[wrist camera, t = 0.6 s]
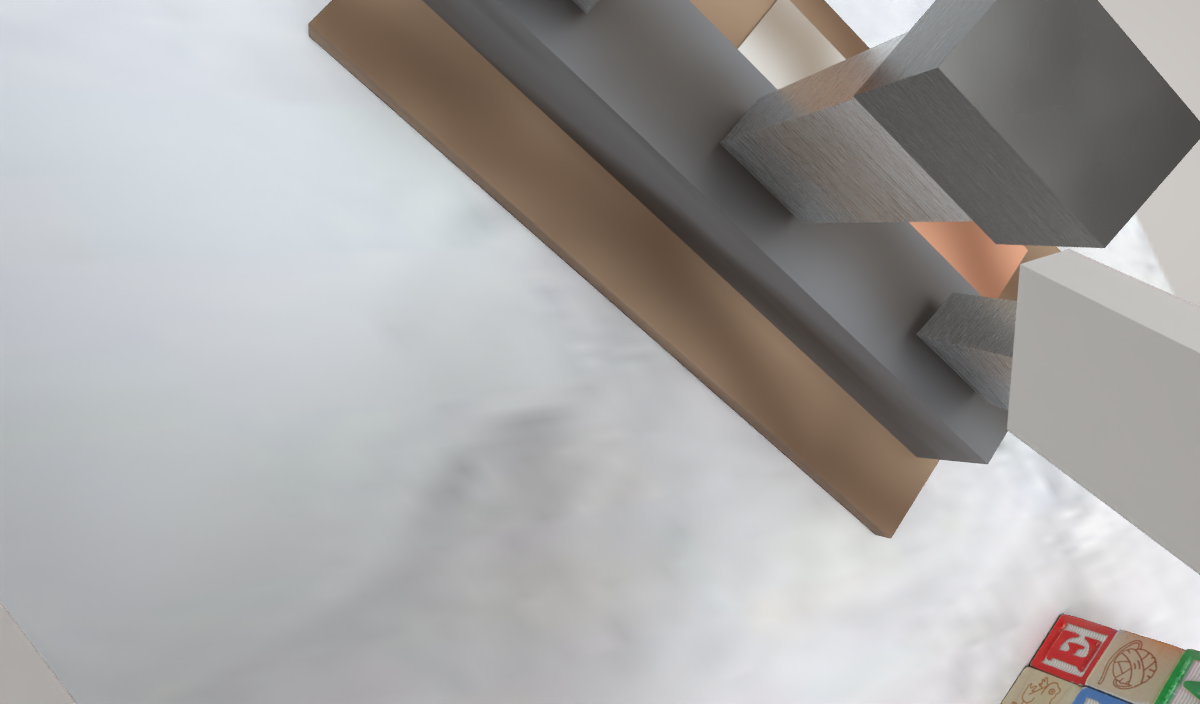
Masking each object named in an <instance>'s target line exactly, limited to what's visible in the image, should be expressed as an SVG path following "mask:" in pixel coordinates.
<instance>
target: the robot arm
mask: <svg viewBox="0 0 1200 704" xmlns="http://www.w3.org/2000/svg"><path fill="white" fill-rule="evenodd" d="M1007 430H1008V431H1009V432H1010V433H1012V434H1013V435H1014V436H1016V437H1017V438H1018V439H1020V440H1021V441H1022V442H1024V443H1025V444H1026V445H1028V446H1029V447H1030V448H1032V449H1033V450H1034V451H1036V452H1037V453H1038V454H1040V455H1041V456H1042V457H1044V458H1045V459H1046V460H1048V461H1049V462H1050V463H1052V464H1053V465H1054V466H1056V467H1057V468H1058V469H1060V470H1061V471H1062V472H1064V473H1065V474H1066V475H1068V476H1069V477H1070V478H1072V479H1073V480H1074V481H1076V482H1077V483H1078V484H1080V485H1081V486H1082V487H1084V488H1085V489H1086V490H1088V491H1089V492H1090V493H1092V494H1093V495H1094V496H1096V497H1097V498H1098V499H1100V500H1101V501H1102V502H1104V503H1105V504H1106V505H1108V506H1109V507H1110V508H1112V509H1113V510H1114V511H1116V512H1117V513H1118V514H1120V515H1121V516H1122V517H1123V518H1125V519H1126V520H1127V521H1129V522H1130V523H1131V524H1133V525H1134V526H1135V527H1137V528H1138V529H1139V530H1141V531H1142V532H1143V533H1145V534H1146V535H1147V536H1149V537H1150V538H1151V539H1153V540H1154V541H1155V542H1157V543H1158V544H1159V545H1161V546H1162V547H1163V548H1165V549H1166V550H1167V551H1169V552H1170V553H1171V554H1173V555H1174V556H1175V557H1177V558H1178V559H1179V560H1181V561H1182V562H1183V563H1185V564H1186V565H1187V566H1189V567H1190V568H1191V569H1193V570H1194V571H1195V572H1197V573H1198V574H1199V575H1200V307H1199V306H1197V305H1194V304H1192V303H1190V302H1187V301H1185V300H1183V299H1181V298H1179V297H1176V296H1174V295H1172V294H1170V293H1167V292H1165V291H1163V290H1161V289H1158V288H1156V287H1154V286H1151V285H1149V284H1147V283H1145V282H1142V281H1140V280H1138V279H1136V278H1133V277H1131V276H1129V275H1127V274H1124V273H1122V272H1120V271H1117V270H1115V269H1113V268H1111V267H1108V266H1106V265H1104V264H1102V263H1099V262H1097V261H1095V260H1092V259H1090V258H1088V257H1086V256H1083V255H1081V254H1079V253H1077V252H1074V251H1072V250H1070V249H1068V250H1065V251H1061V252H1058V253H1055V254H1052V255H1048V256H1045V257H1042V258H1039V259H1035V260H1032V261H1029V262H1025V263H1022V264H1020V271H1019V284H1018V296H1017V309H1016V321H1015V334H1014V346H1013V359H1012V372H1011V384H1010V397H1009V409H1008V422H1007ZM0 704H76V702H75V701H74V700H73V698H72V697H71V696H70V694H69V693H68V692H67V690H66V689H65V688H64V686H63V685H62V683H61V682H60V681H59V679H58V678H57V677H56V675H55V674H54V673H53V671H52V670H51V669H50V667H49V666H48V665H47V663H46V662H45V661H44V659H43V658H42V657H41V655H40V654H39V653H38V651H37V650H36V649H35V647H34V646H33V645H32V643H31V642H30V641H29V639H28V638H27V637H26V635H25V634H24V633H23V631H22V630H21V629H20V627H19V626H18V625H17V623H16V622H15V621H14V619H13V618H12V616H11V615H10V614H9V612H8V611H7V610H6V608H5V607H4V606H3V604H2V603H1V602H0Z"/></svg>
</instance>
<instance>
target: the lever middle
mask: <svg viewBox="0 0 1200 704" xmlns="http://www.w3.org/2000/svg"><path fill="white" fill-rule="evenodd" d="M1199 139H1200V121H1199V120H1198V119H1197V118H1196V116H1195V115H1194V114H1193V113H1192V112H1191V110H1190V109H1189V108H1188V107H1187V106H1186V104H1185V103H1184V102H1183V101H1182V100H1181V99H1180V97H1179V96H1178V95H1177V94H1176V93H1175V91H1174V90H1173V89H1172V88H1171V87H1170V86H1169V84H1168V83H1167V82H1166V81H1165V80H1164V79H1163V77H1162V76H1161V75H1160V74H1159V73H1158V72H1157V70H1156V69H1155V68H1154V67H1153V65H1152V64H1151V63H1150V62H1149V61H1148V60H1147V58H1146V57H1145V56H1144V55H1143V54H1142V53H1141V51H1140V50H1139V49H1138V48H1137V47H1136V45H1135V44H1134V43H1133V42H1132V41H1131V39H1130V38H1129V37H1128V36H1127V35H1126V34H1125V32H1124V31H1123V30H1122V29H1121V28H1120V26H1119V25H1118V24H1117V23H1116V22H1115V21H1114V19H1113V18H1112V17H1111V16H1110V15H1109V14H1108V12H1107V11H1106V10H1105V9H1104V8H1103V6H1102V5H1101V4H1100V3H1099V2H1098V0H936V1H935V2H934V3H933V4H932V5H931V7H930V8H929V9H928V10H927V11H926V12H925V14H924V15H923V16H922V17H921V18H920V19H919V21H918V22H917V23H916V24H915V25H914V26H913V27H912V29H911V30H910V31H909V32H907V33H905V34H902V35H900V36H898V37H896V38H893V39H891V40H889V41H887V42H884V43H882V44H880V45H878V46H875V47H873V48H871V49H869V50H866V51H864V52H862V53H860V54H857V55H855V56H853V57H851V58H848V59H846V60H844V61H842V62H839V63H837V64H835V65H832V66H830V67H828V68H826V69H823V70H821V71H819V72H817V73H814V74H812V75H810V76H808V77H805V78H803V79H801V80H799V81H796V82H794V83H792V84H790V85H787V86H785V87H783V88H781V89H778V90H776V91H774V92H772V93H769V94H767V95H765V96H763V97H760V98H759V99H758V100H757V101H756V102H755V103H754V104H753V106H752V107H751V108H750V109H749V110H748V111H747V112H746V114H745V115H744V116H743V117H742V118H741V119H740V121H739V122H738V123H737V124H736V125H735V126H734V128H733V129H732V130H731V131H730V132H729V133H728V135H727V136H726V137H725V138H724V139H723V140H722V141H721V143H720V144H721V145H722V146H723V147H724V148H725V149H726V150H727V151H728V152H729V153H730V154H731V155H732V156H733V157H734V158H735V159H737V160H738V161H739V162H740V163H741V164H742V165H743V166H744V167H745V168H746V169H747V170H748V171H749V172H750V173H751V174H752V175H753V176H754V177H755V178H756V179H757V180H758V181H759V182H760V183H761V184H762V185H763V186H764V187H765V188H766V189H767V190H768V191H769V192H770V193H772V194H773V195H774V196H775V197H776V198H777V199H778V200H779V201H780V202H781V203H782V204H783V205H784V206H785V207H786V208H787V209H788V210H789V211H790V212H791V213H792V214H793V215H794V216H795V217H796V218H797V219H798V220H799V221H800V222H801V223H858V222H959V221H974V222H975V223H976V224H977V225H978V226H979V227H980V228H981V230H982V231H983V232H984V233H985V234H986V235H987V236H988V237H989V238H990V239H991V240H992V241H993V242H994V243H995V244H1004V245H1033V246H1063V247H1092V248H1105V247H1106V246H1107V245H1108V244H1109V243H1110V241H1111V240H1112V239H1113V238H1114V237H1115V236H1116V234H1117V233H1118V232H1119V231H1120V230H1121V229H1122V228H1123V226H1124V225H1125V224H1126V223H1127V222H1128V221H1129V220H1130V218H1131V217H1132V216H1133V215H1134V214H1135V213H1136V212H1137V210H1138V209H1139V208H1140V207H1141V206H1142V205H1143V203H1144V202H1145V201H1146V200H1147V199H1148V198H1149V197H1150V195H1151V194H1152V193H1153V192H1154V191H1155V190H1156V189H1157V187H1158V186H1159V185H1160V184H1161V183H1162V182H1163V181H1164V179H1165V178H1166V177H1167V176H1168V175H1169V174H1170V172H1171V171H1172V170H1173V169H1174V168H1175V167H1176V166H1177V164H1178V163H1179V162H1180V161H1181V160H1182V159H1183V157H1184V156H1185V155H1186V154H1187V153H1188V152H1189V151H1190V149H1191V148H1192V147H1193V146H1194V145H1195V144H1196V143H1197V142H1198V140H1199Z"/></svg>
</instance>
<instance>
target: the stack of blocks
mask: <svg viewBox="0 0 1200 704" xmlns="http://www.w3.org/2000/svg"><path fill="white" fill-rule="evenodd" d="M1001 704H1200V651H1197V650H1193V649H1187V650H1184V649H1181V648H1178V647H1176V646H1173V645H1170V644H1167V643H1164V642H1161V641H1157V640H1154V639H1150V638H1147V637H1143V636H1140V635H1137V634H1134V633H1131V632H1127V631H1124V630H1119V631H1117V630H1115V629H1112V628H1110V627H1106V626H1102V625H1100V624H1097V623H1094V622H1090V621H1087V620H1084V619H1081V618H1077V617H1074V616H1070V615H1066V614H1062V615H1061V616H1060V617H1059V619H1058V620H1057V622H1056V624H1055V625H1054V627H1053V628H1052V630H1051V631H1050V633H1049V635H1048V636H1047V638H1046V639H1045V641H1044V643H1043V644H1042V646H1041V647H1040V649H1039V650H1038V652H1037V653H1036V655H1035V657H1034V658H1033V660H1032V661H1031V664H1030V667H1026V668H1024V670H1023V671H1022V673H1021V674H1020V676H1019V677H1018V679H1017V680H1016V682H1015V683H1014V685H1013V686H1012V688H1011V689H1010V691H1009V692H1008V694H1007V695H1006V697H1005V698H1004V700H1003V702H1002V703H1001Z"/></svg>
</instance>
